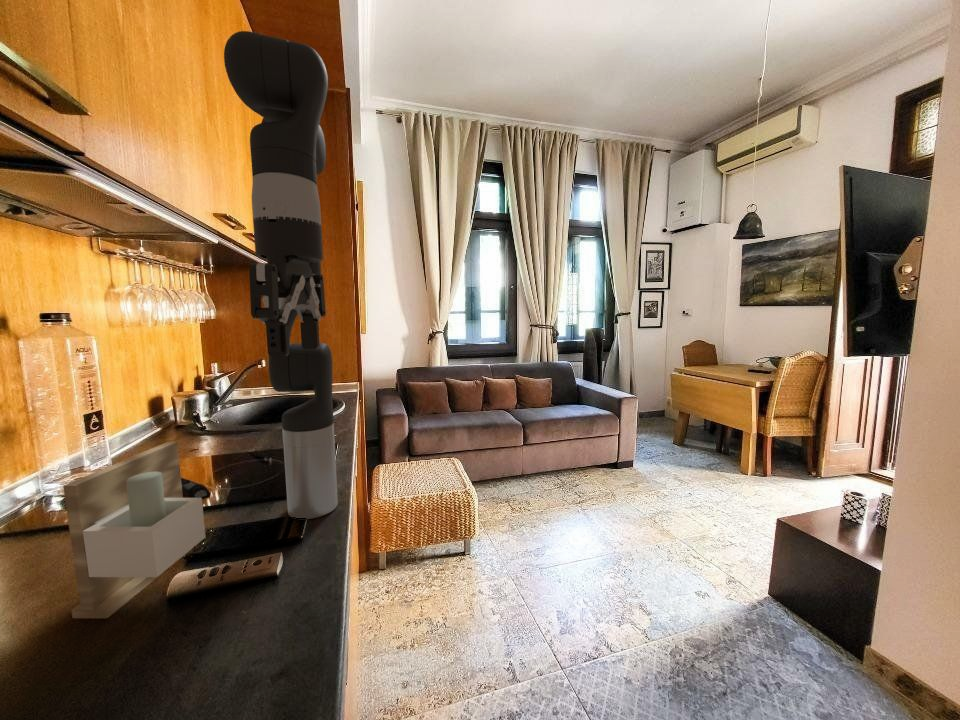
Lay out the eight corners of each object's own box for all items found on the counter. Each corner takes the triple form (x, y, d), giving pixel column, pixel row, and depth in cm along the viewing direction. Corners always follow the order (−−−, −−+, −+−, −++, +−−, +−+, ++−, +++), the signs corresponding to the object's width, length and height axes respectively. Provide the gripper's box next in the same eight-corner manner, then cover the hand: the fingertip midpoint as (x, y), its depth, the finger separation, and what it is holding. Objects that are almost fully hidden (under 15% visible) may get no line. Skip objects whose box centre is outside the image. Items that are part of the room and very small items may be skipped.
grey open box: (142, 537, 57) (138, 497, 56) (205, 537, 57) (201, 497, 56) (83, 577, 48) (77, 531, 48) (157, 577, 48) (151, 531, 48)
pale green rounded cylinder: (149, 539, 54) (141, 471, 53) (175, 539, 54) (168, 471, 53) (126, 555, 51) (118, 482, 50) (154, 554, 51) (146, 482, 50)
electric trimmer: (178, 482, 90) (177, 469, 90) (212, 497, 82) (211, 483, 82) (158, 488, 87) (157, 475, 87) (192, 505, 79) (190, 490, 79)
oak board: (171, 543, 65) (160, 441, 63) (198, 543, 65) (187, 441, 63) (72, 618, 50) (53, 485, 47) (107, 618, 50) (89, 485, 47)
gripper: (286, 232, 54) (293, 347, 56) (218, 205, 40) (231, 359, 42) (339, 232, 54) (344, 347, 56) (290, 205, 40) (299, 359, 42)
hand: (296, 352), depth 49 cm, fingers open, 8 cm apart
